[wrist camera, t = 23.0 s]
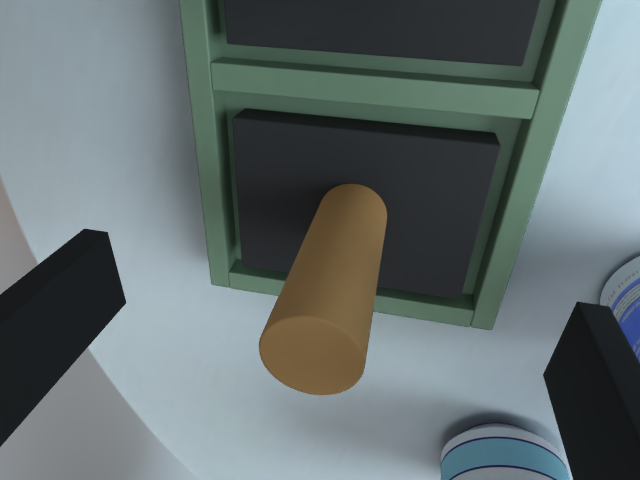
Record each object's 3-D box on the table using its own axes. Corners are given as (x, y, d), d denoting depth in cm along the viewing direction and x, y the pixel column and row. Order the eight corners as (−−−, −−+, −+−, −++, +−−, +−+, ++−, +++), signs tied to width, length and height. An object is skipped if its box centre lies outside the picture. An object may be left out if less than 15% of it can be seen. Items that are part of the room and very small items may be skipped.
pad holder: (175, -297, 13) (138, -337, 11) (682, -321, 11) (728, -373, 9) (225, 263, 24) (210, 285, 22) (487, 303, 22) (492, 331, 20)
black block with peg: (244, 107, 18) (104, 214, 10) (496, 132, 17) (561, 279, 9) (251, 249, 22) (153, 408, 14) (458, 279, 20) (479, 477, 12)
